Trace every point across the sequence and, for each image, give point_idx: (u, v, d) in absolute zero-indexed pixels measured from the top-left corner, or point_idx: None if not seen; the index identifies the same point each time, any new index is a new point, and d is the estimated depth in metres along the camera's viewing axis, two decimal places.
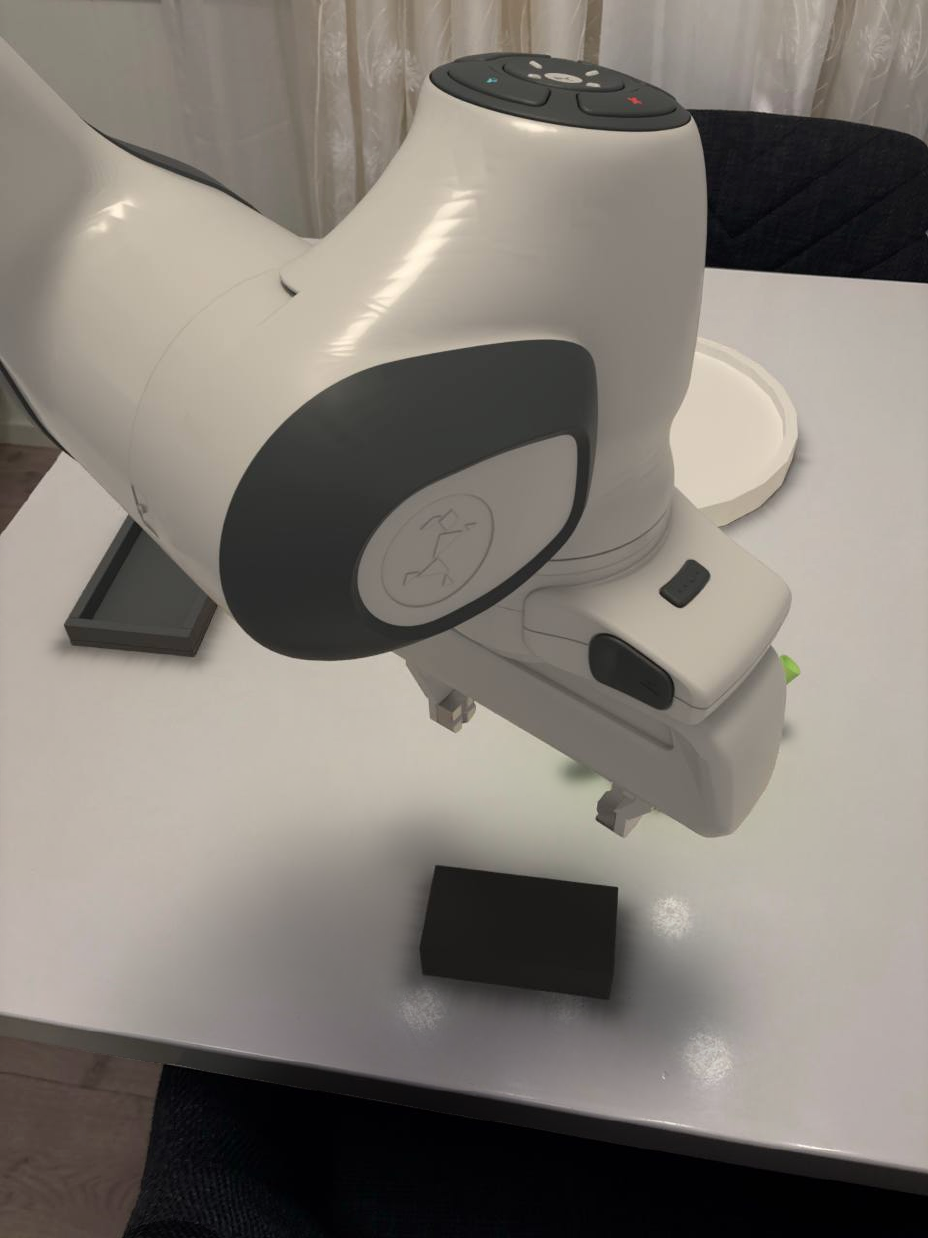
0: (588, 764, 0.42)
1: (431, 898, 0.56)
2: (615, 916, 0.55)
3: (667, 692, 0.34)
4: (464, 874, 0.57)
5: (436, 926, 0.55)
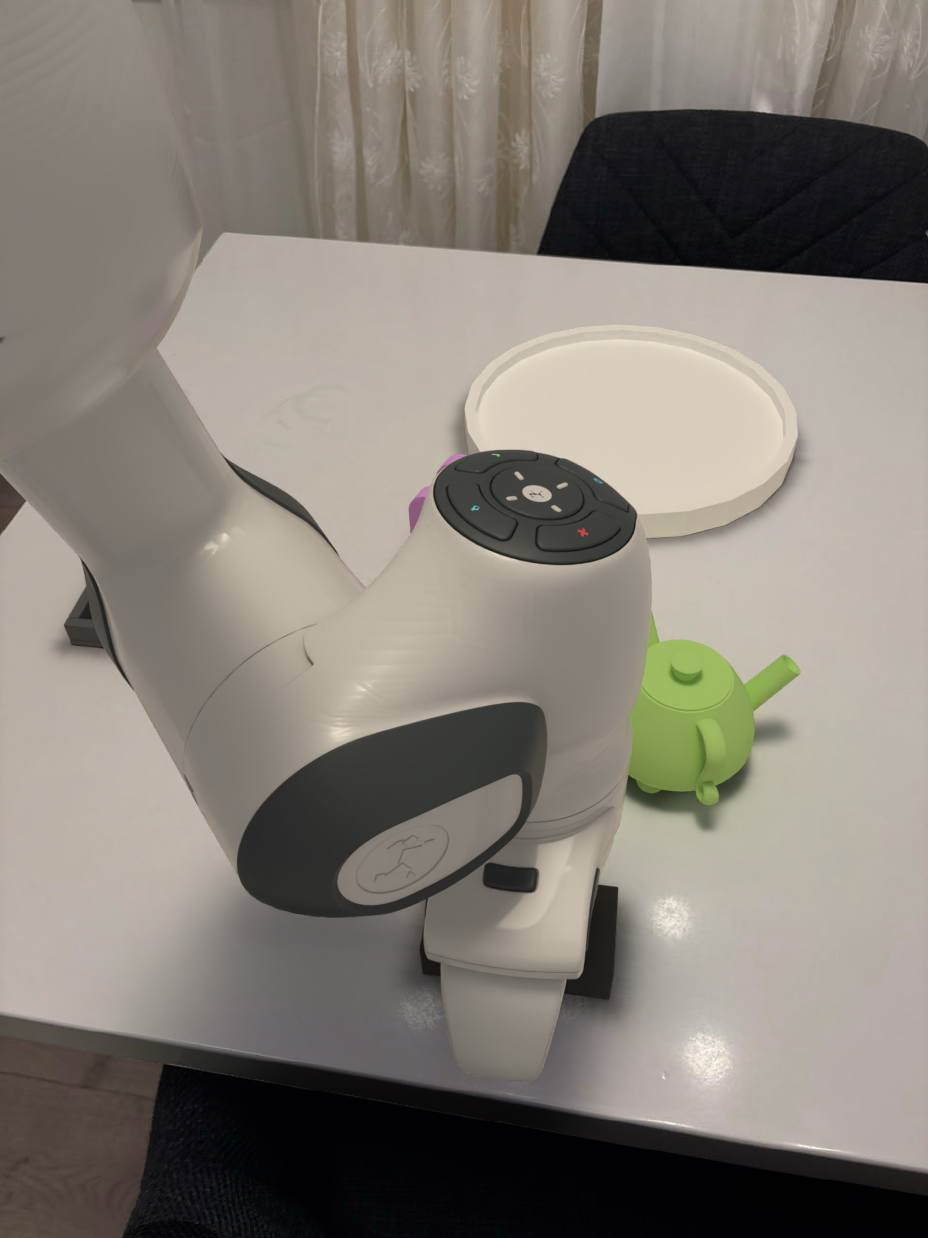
0: None
1: None
2: (615, 916, 0.55)
3: (424, 919, 0.42)
4: None
5: None
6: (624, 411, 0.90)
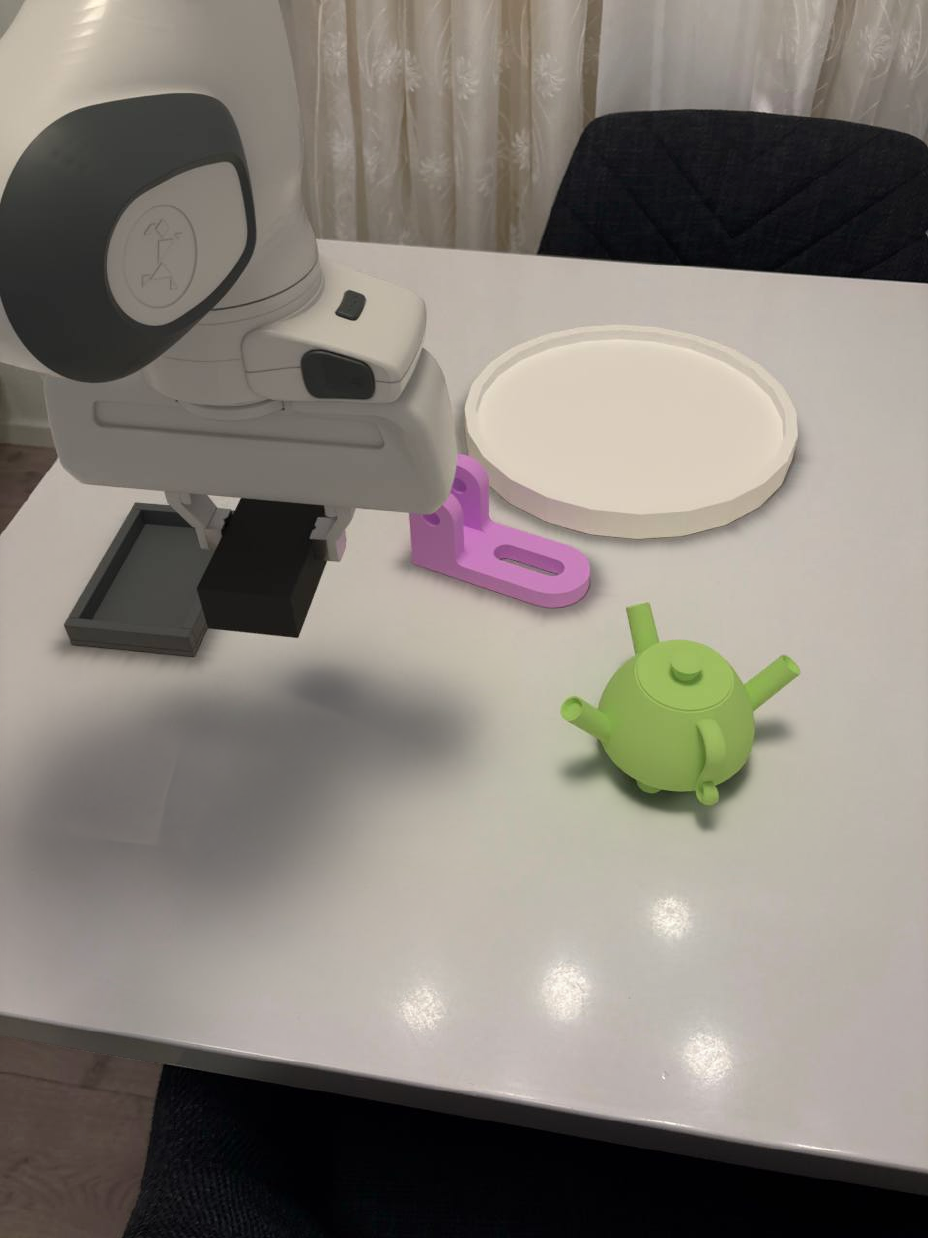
0: (324, 499, 0.52)
1: (235, 590, 0.53)
2: None
3: (369, 378, 0.44)
4: (213, 567, 0.54)
5: (268, 585, 0.53)
6: (624, 411, 0.90)
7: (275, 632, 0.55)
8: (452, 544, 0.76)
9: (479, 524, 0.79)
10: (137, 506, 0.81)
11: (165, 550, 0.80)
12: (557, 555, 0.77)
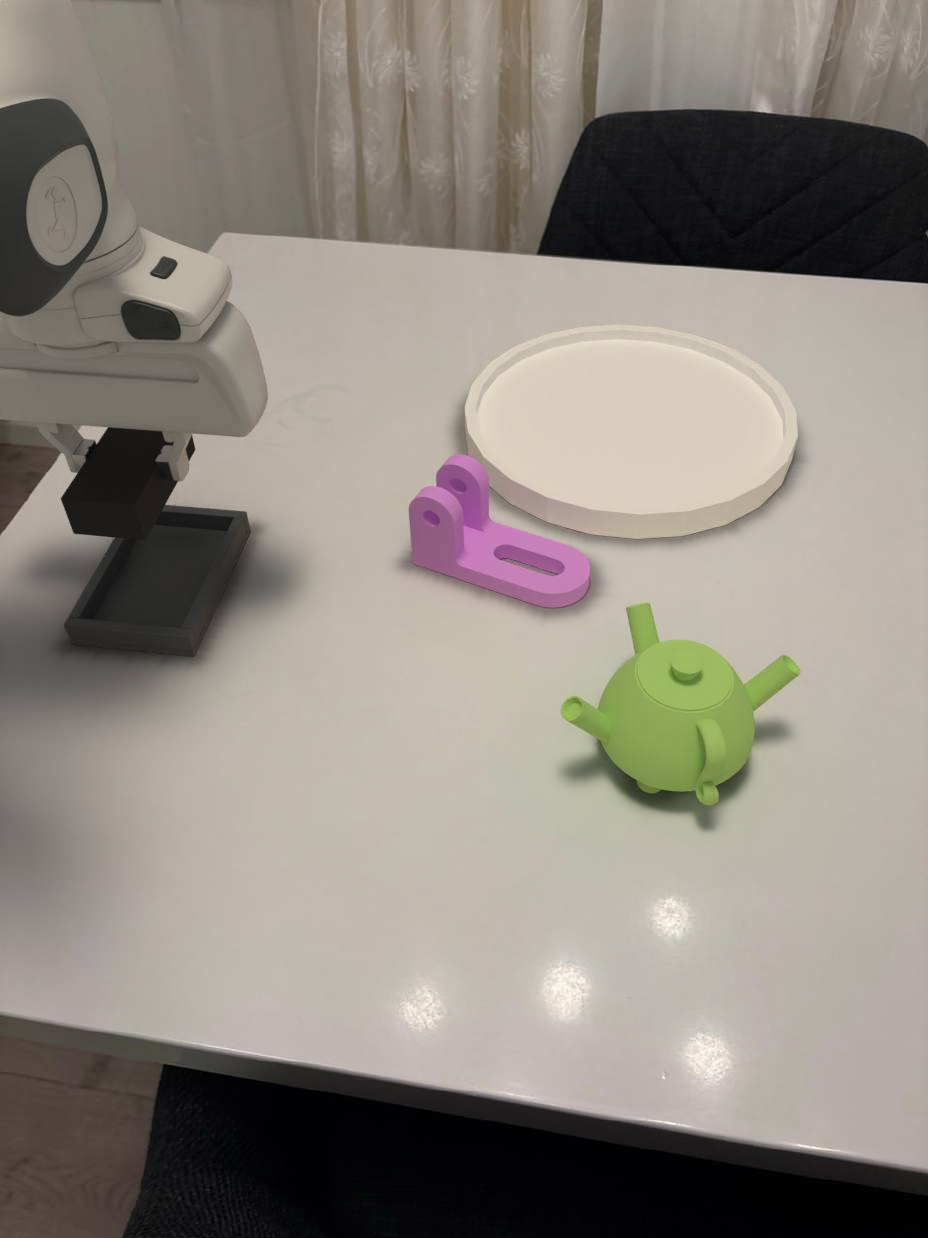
0: (159, 426, 0.65)
1: (91, 499, 0.66)
2: None
3: (174, 323, 0.58)
4: (76, 483, 0.68)
5: (118, 496, 0.67)
6: (624, 411, 0.90)
7: (127, 535, 0.68)
8: (452, 544, 0.76)
9: (479, 524, 0.79)
10: None
11: (165, 550, 0.80)
12: (557, 555, 0.77)
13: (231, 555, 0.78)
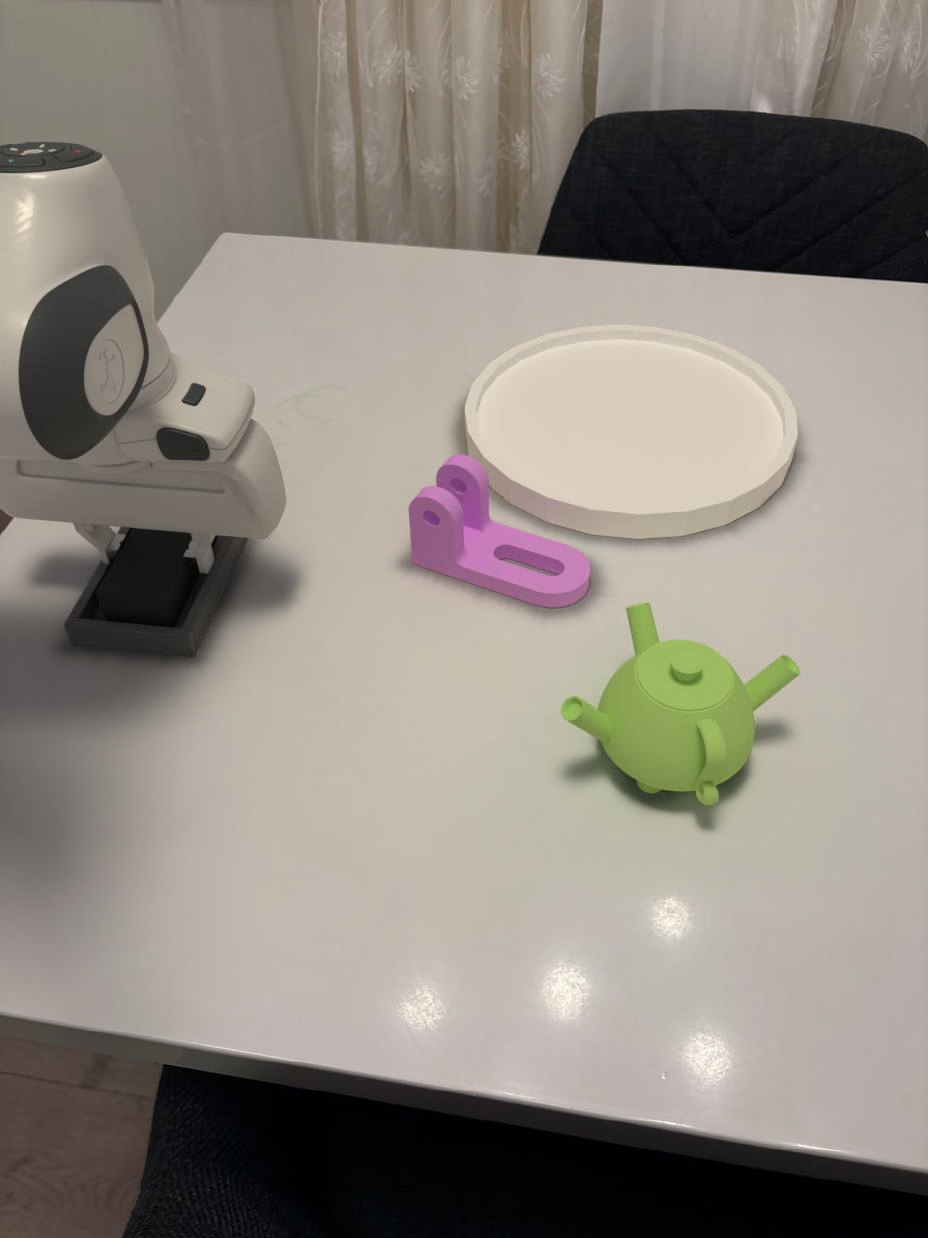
0: (187, 528, 0.71)
1: (124, 594, 0.72)
2: None
3: (204, 447, 0.64)
4: (109, 577, 0.73)
5: (148, 590, 0.72)
6: (624, 411, 0.90)
7: (156, 625, 0.74)
8: (452, 544, 0.76)
9: (479, 524, 0.79)
10: None
11: None
12: (557, 555, 0.77)
13: (231, 555, 0.78)
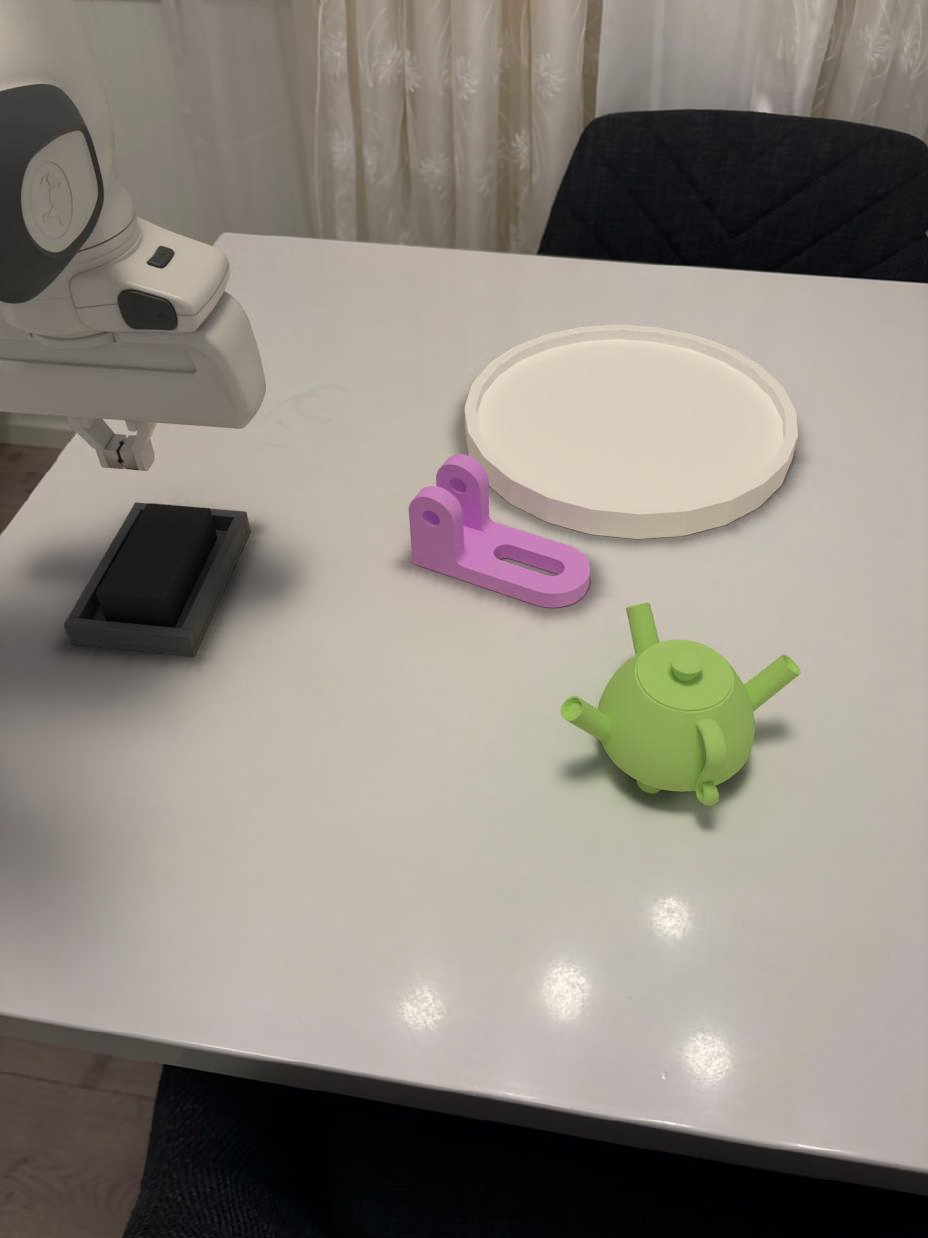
0: (156, 417, 0.65)
1: (124, 594, 0.72)
2: (169, 505, 0.79)
3: (171, 312, 0.57)
4: (109, 577, 0.73)
5: (148, 590, 0.72)
6: (624, 411, 0.90)
7: (156, 625, 0.74)
8: (452, 543, 0.76)
9: (479, 524, 0.79)
10: (137, 506, 0.81)
11: None
12: (557, 555, 0.77)
13: (231, 555, 0.78)
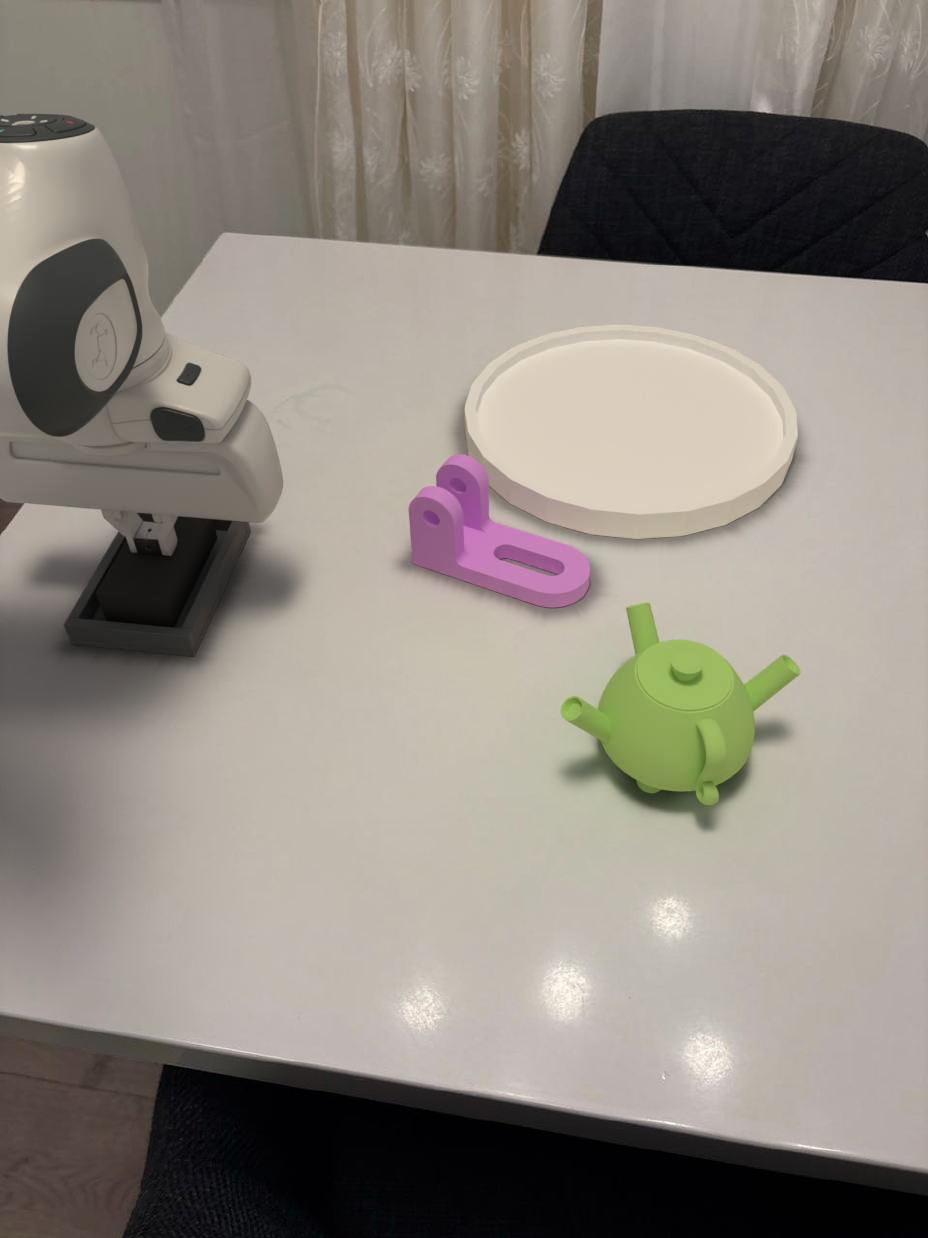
0: (182, 512, 0.70)
1: (124, 594, 0.72)
2: None
3: (199, 427, 0.63)
4: (109, 577, 0.73)
5: (148, 590, 0.72)
6: (624, 411, 0.90)
7: (156, 625, 0.74)
8: (452, 544, 0.76)
9: (479, 524, 0.79)
10: None
11: None
12: (557, 555, 0.77)
13: (231, 555, 0.78)
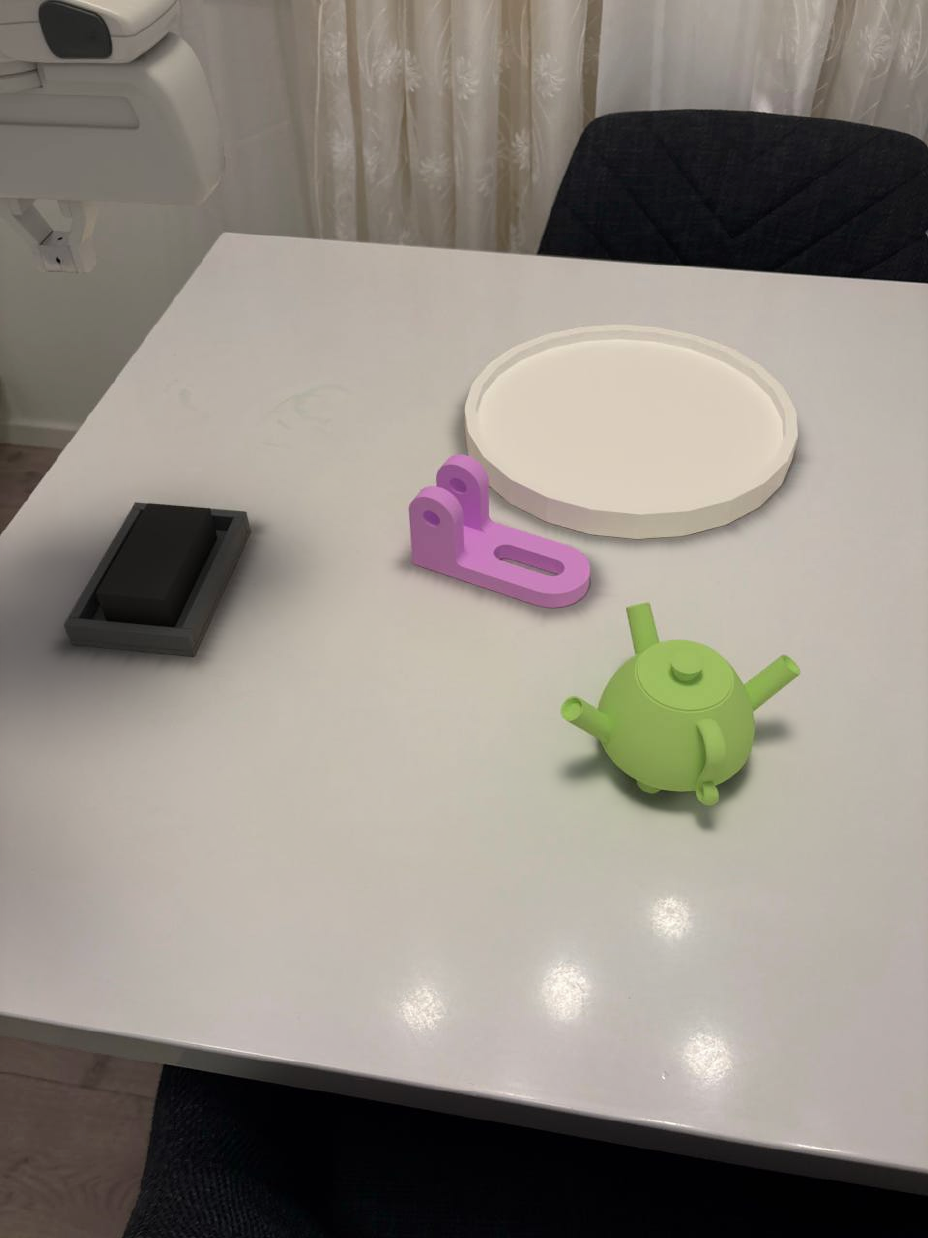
0: (95, 193, 0.55)
1: (124, 594, 0.72)
2: (169, 505, 0.79)
3: (104, 31, 0.47)
4: (109, 577, 0.73)
5: (148, 590, 0.72)
6: (624, 411, 0.90)
7: (156, 625, 0.74)
8: (452, 544, 0.76)
9: (479, 524, 0.79)
10: (137, 506, 0.81)
11: None
12: (557, 555, 0.77)
13: (231, 555, 0.78)
